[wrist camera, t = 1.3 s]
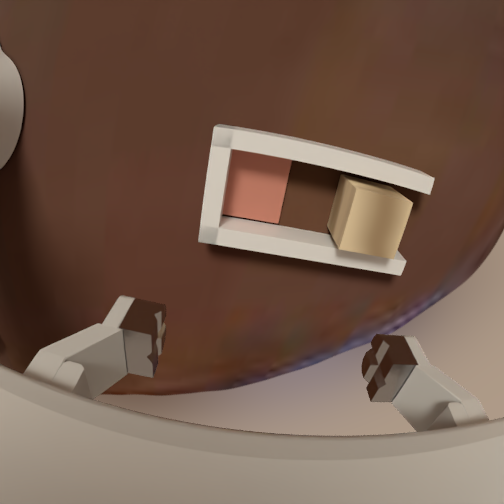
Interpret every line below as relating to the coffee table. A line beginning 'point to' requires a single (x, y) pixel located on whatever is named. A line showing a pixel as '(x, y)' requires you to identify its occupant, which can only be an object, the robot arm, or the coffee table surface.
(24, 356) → the coffee table surface
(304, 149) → the channel
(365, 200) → the block
